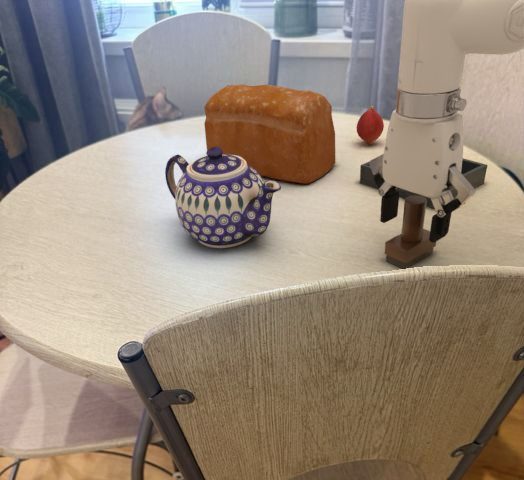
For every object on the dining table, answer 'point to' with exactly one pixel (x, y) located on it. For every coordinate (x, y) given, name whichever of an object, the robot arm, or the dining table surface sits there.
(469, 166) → the tray
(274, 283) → the dining table surface
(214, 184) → the teapot
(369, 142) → the onion
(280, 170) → the bread
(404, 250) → the wooden rubber stamp
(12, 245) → the dining table surface
